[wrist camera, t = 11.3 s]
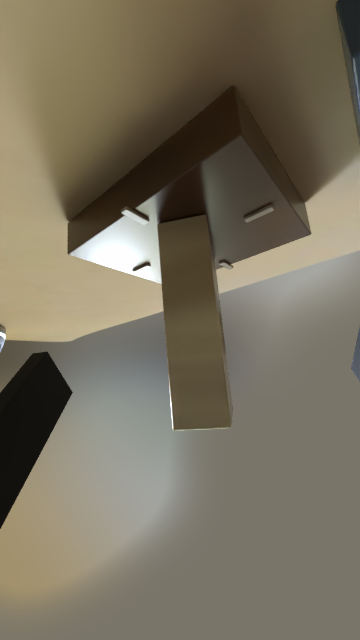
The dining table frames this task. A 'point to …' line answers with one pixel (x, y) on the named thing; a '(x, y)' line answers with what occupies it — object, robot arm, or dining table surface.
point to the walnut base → (196, 196)
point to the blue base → (351, 49)
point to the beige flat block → (193, 327)
